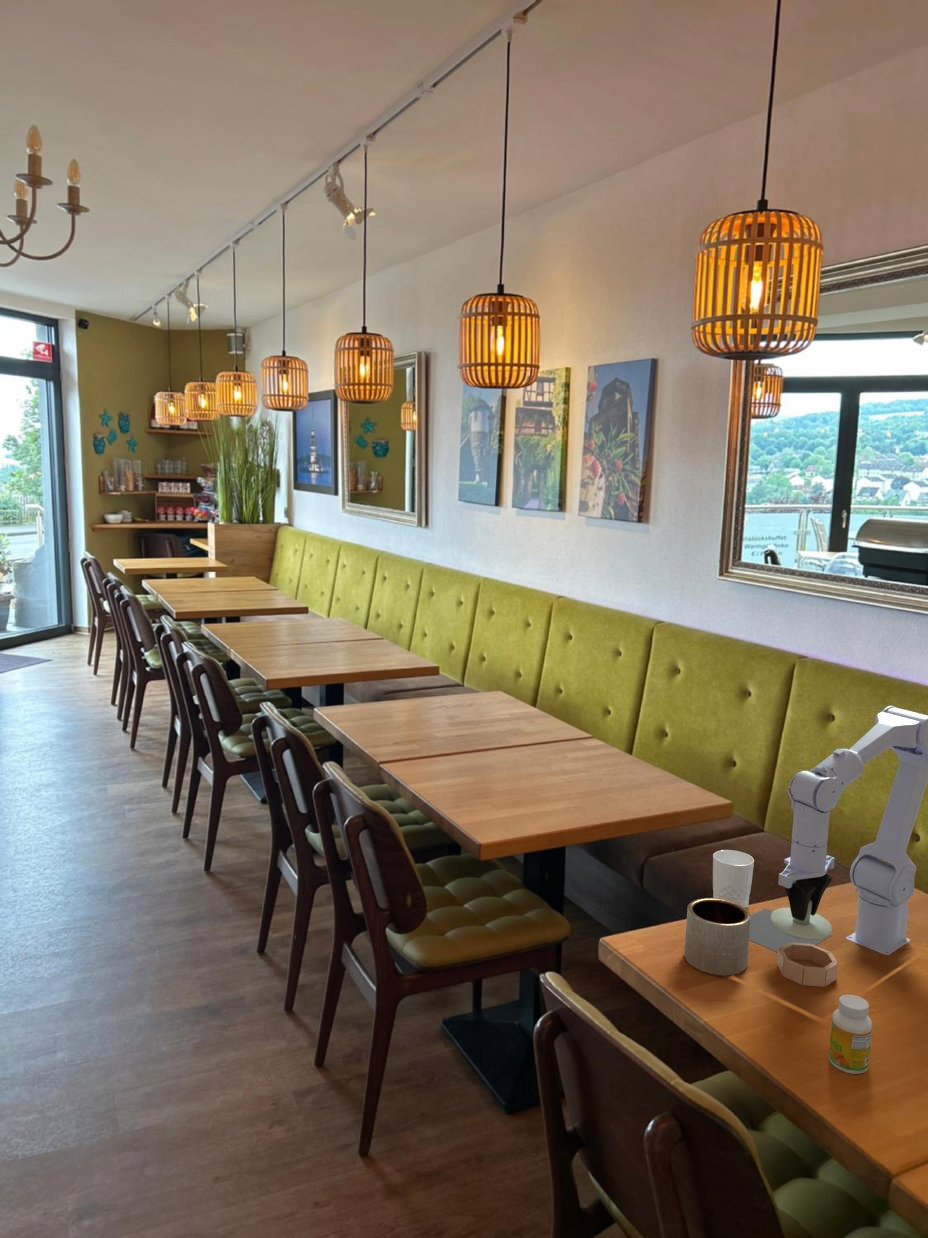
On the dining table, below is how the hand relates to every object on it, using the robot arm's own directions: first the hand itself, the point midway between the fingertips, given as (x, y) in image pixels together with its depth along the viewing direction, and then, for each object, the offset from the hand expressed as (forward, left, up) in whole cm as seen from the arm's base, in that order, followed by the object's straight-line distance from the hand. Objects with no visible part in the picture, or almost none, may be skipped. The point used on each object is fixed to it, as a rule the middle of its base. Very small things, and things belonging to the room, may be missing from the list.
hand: (803, 916), depth 158 cm
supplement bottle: (+20, +19, -10) cm, 29 cm away
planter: (+10, -10, -10) cm, 18 cm away
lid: (0, 0, -2) cm, 2 cm away
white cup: (-11, -22, -10) cm, 26 cm away
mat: (-7, -9, -10) cm, 15 cm away
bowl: (+2, +2, -10) cm, 10 cm away
